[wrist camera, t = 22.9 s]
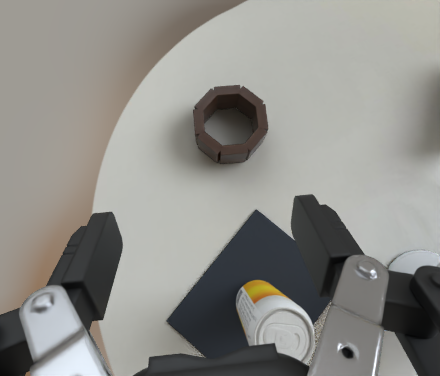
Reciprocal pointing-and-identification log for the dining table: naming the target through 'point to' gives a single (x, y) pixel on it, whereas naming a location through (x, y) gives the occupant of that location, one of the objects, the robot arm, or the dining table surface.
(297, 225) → the robot arm
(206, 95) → the segmented ring
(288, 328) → the beer can
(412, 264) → the chalice
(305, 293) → the mat
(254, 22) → the dining table surface
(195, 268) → the dining table surface
